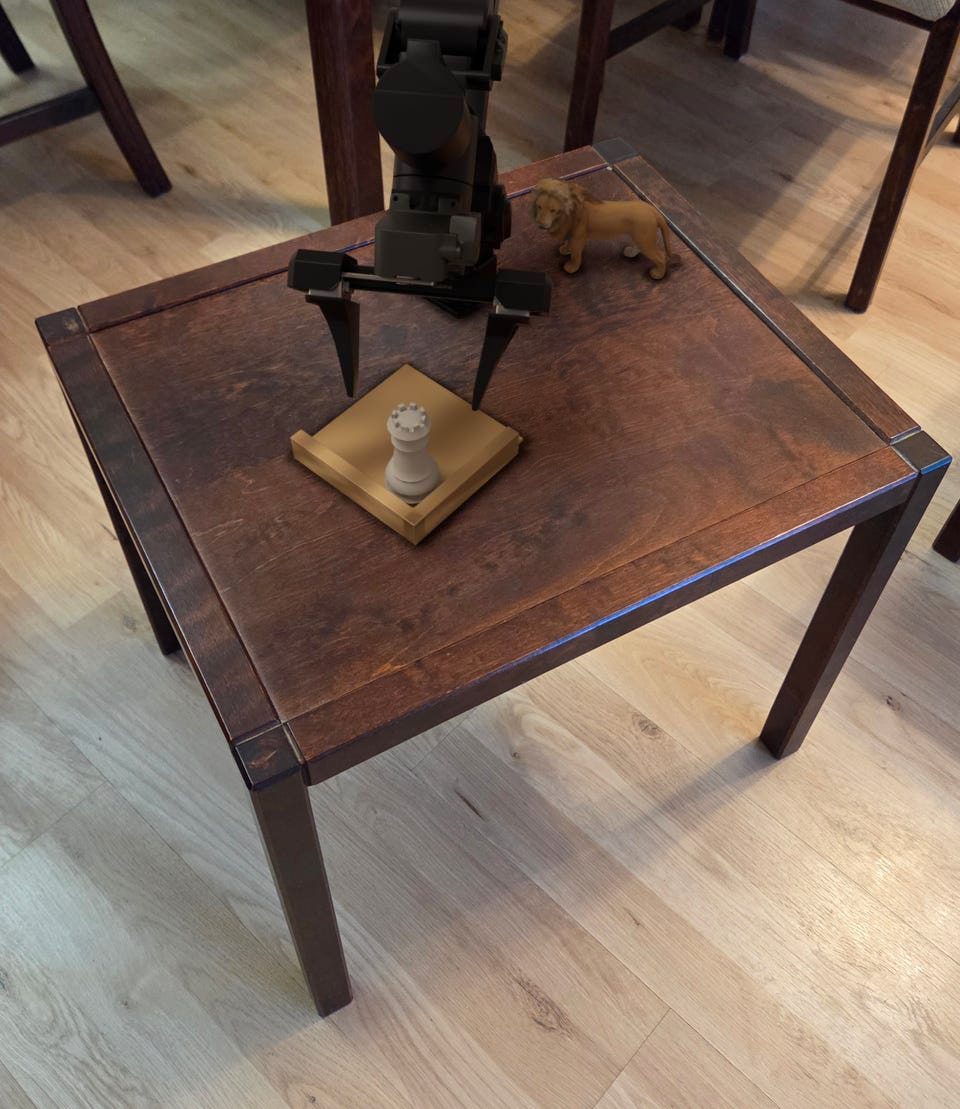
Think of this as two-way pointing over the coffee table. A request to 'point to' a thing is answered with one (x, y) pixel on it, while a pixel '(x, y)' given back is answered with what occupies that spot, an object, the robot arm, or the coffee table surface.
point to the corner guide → (366, 447)
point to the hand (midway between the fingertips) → (412, 404)
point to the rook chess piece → (411, 456)
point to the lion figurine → (597, 222)
